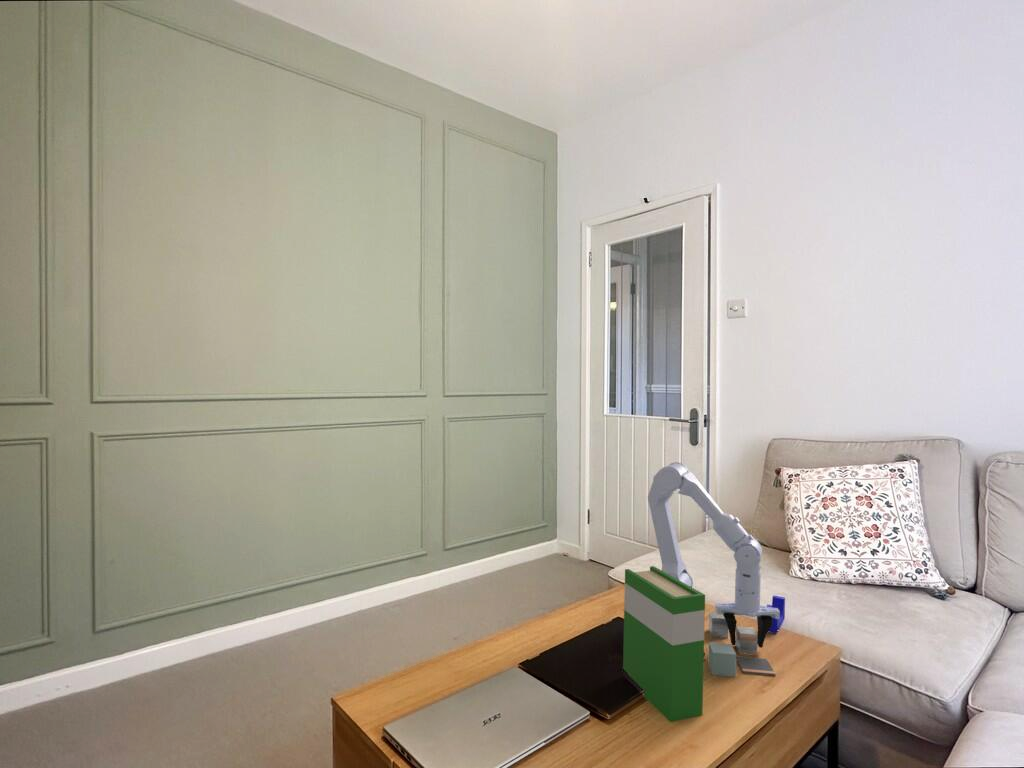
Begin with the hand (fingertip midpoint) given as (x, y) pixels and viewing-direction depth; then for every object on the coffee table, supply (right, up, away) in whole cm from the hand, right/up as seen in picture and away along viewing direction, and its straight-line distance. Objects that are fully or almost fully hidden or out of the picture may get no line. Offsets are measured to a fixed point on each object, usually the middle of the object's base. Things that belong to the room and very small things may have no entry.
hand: (746, 644), depth 140 cm
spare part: (0, -2, 0) cm, 2 cm away
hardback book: (-26, -2, -20) cm, 33 cm away
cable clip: (+13, -2, +16) cm, 21 cm away
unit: (-10, -1, -10) cm, 14 cm away
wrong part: (-4, -1, +9) cm, 10 cm away
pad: (-1, -2, -8) cm, 8 cm away
